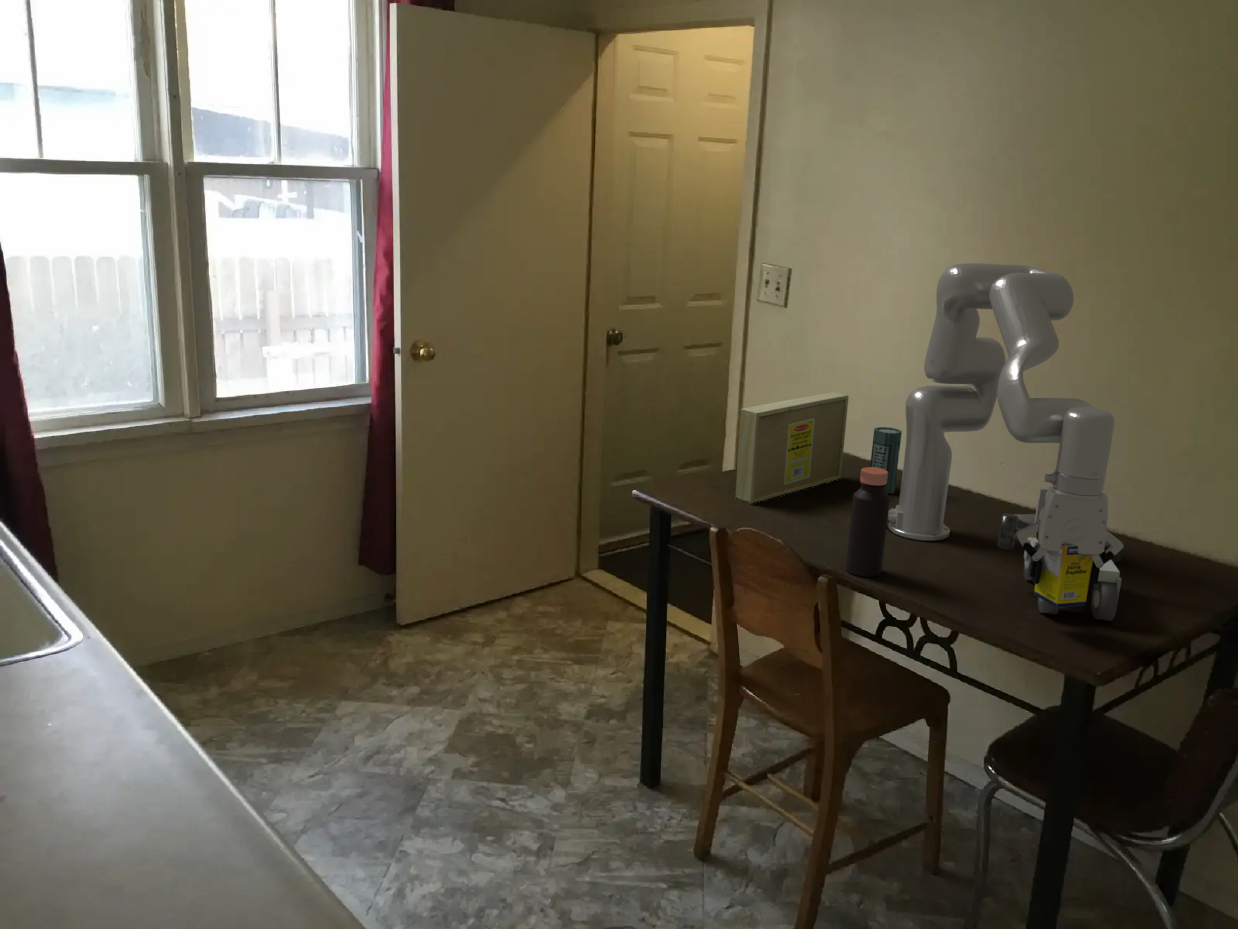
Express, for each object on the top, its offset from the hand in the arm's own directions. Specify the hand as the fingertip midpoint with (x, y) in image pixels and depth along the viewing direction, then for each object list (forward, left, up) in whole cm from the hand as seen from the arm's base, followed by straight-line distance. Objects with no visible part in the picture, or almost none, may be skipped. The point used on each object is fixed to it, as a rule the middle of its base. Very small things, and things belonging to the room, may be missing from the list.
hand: (1061, 583), depth 175 cm
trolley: (+4, +15, -8) cm, 18 cm away
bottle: (-32, +17, -8) cm, 37 cm away
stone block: (+9, +44, -9) cm, 46 cm away
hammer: (-2, +18, -1) cm, 18 cm away
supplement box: (0, 0, -3) cm, 3 cm away
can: (-27, +74, -8) cm, 79 cm away
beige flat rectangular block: (-48, +67, -8) cm, 83 cm away
